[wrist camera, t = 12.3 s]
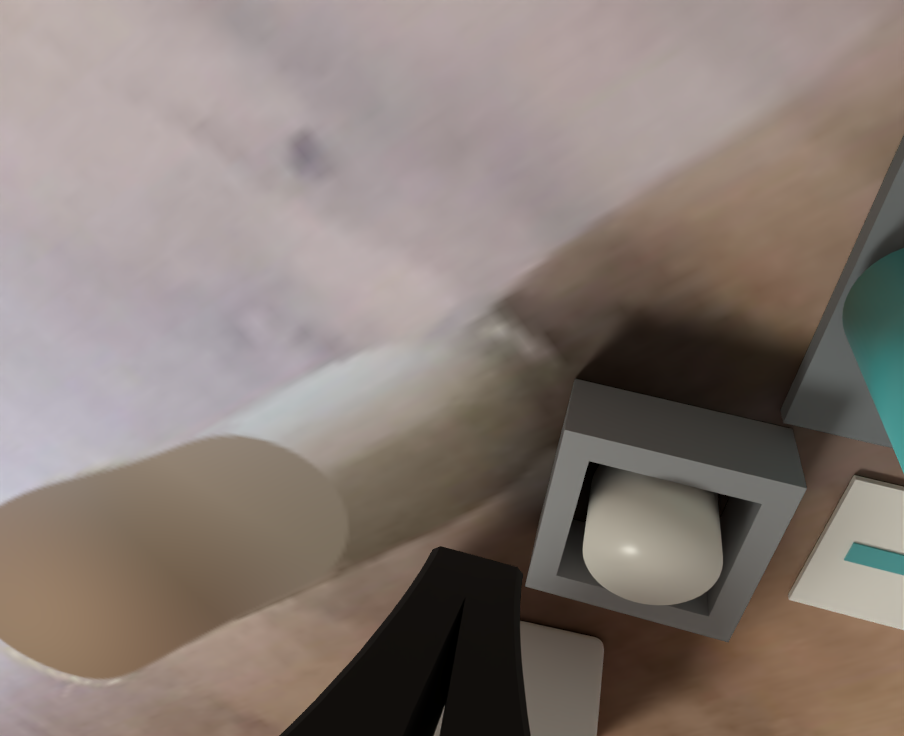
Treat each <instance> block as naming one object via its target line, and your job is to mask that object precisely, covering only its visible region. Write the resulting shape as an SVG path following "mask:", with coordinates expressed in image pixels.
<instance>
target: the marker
mask: <svg viewBox="0 0 904 736" xmlns="http://www.w3.org/2000/svg"><path fill="white" fill-rule="evenodd" d="M842 321H843V328H844V332H845V335H846V337H847V340H848V342H849V345H850V347H851V349H852V352H853V354H854V356H855V359H856V361H857V363H858V366H859V368H860V371H861V373H862V375H863V378H864V380H865V382H866V385H867V387H868V390H869V392H870V394H871V397H872V399H873V401H874V404H875V406H876V409H877V411H878V413H879V416H880V418H881V420H882V423H883V425H884V427H885V430H886V432H887V435H888V437H889V439H890V442H891V444H892V446H893V449H894V451H895V454H896V456H897V458H898V461H899V463H900V465H901V468H902V470H903V472H904V248H902V249H899V250H897V251H895V252H892V253H890V254H888V255H886V256H885V257H883V258H881V259H880V260H878V261H877V262H875V263H874V264H872V265H871V266H870V267H869V268H868V269H867V270H865V271H864V272H863V273H862V275H861V276H860V277H859V278H858V279H857V280H856V282H855V283H854V284H853V286H852V287H851V289H850V291H849V293H848V295H847V297H846V300H845V303H844V307H843V315H842Z"/></svg>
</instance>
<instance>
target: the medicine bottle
mask: <svg viewBox="0 0 904 736" xmlns="http://www.w3.org/2000/svg"><path fill="white" fill-rule="evenodd" d="M520 637H521V656H522V669H523V678H524V687H525V696H526V705H527V713H528V720H529V727H530V734H531V736H597V727H598V715H599V704H600V692H601V681H602V669H603V658H604V647H603V642H602V641H601V640H600V639H598V638H596V637H593V636H588V635H584V634H579V633H575V632H570V631H565V630H561V629H556V628H552V627H547V626H543V625H538V624H534V623H529V622H524V621H520ZM444 708H445V706H444ZM443 713H444V709H443V712H442V714H441V717H440V720H439V723H438V725H437V728H436V731H435V733H434V736H439V735H440V730H441V724H442V719H443Z"/></svg>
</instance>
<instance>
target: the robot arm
mask: <svg viewBox="0 0 904 736" xmlns="http://www.w3.org/2000/svg"><path fill="white" fill-rule="evenodd" d="M522 579H523V574H522V572H521V571H520V570H519V568H518V567H515V566H511V565H508V564H504V563H500V562H497V561H493V560H489V559H485V558H482V557H478V556H474V555H471V554H467V553H463V552H460V551H456V550H452V549H449V548H445V547H441V546H440V547H438V548H435V549H433V550H432V552H431V553H430V555H429V557H428V559H427V561H426V563H425V564H424V566H423V567H422V569H421V571H420V572H419V574H418V575H417V577H416V578H415V580H414V581H413V583H412V584H411V586H410V587H409V589H408V590H407V592H406V593H405V594H404V596H403V597H402V598H401V600H400V601H399V602H398V604H397V605H396V607H395V608H394V609H393V611H392V612H391V613H390V615H389V616H388V617H387V618H386V620H385V621H384V622H383V623H382V624H381V626H380V627H379V628H378V629H377V631H376V632H375V633H374V634H373V636H372V637H371V638H370V639H369V640H368V642H367V643H366V644H365V645H364V647H363V648H362V649H361V650H360V651H359V653H358V654H357V655H356V656H355V657H354V658H353V660H352V661H351V662H350V663H349V664H348V665H347V666H346V667H345V668H344V669H343V670H342V672H341V673H340V674H339V675H338V676H337V677H336V678H335V679H334V680H333V681H332V682H331V684H330V685H329V686H328V687H327V688H326V689H325V690H324V691H323V692H322V693H321V694H320V696H319V697H318V698H317V699H316V700H315V701H314V702H313V703H312V704H311V705H310V706H309V707H308V708H307V709H306V710H305V711H304V712H303V713H302V714H301V715H300V716H299V717H298V718H297V719H296V720H295V721H294V722H293V723H292V724H291V725H290V726H289V727H288V728H287V729H286V730H285V731H284V732H283V733H282V734H281V735H279V736H434V733H435V731H436V728H437V725H438V723H439V720H440V717H441V714H442V712H443V709H444V713H443V719H442V724H441V730H440V735H439V736H531V734H530V727H529V720H528V713H527V705H526V696H525V687H524V678H523V669H522V656H521V637H520V598H521V585H522ZM444 706H445V708H444Z"/></svg>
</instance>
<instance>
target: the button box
mask: <svg viewBox="0 0 904 736" xmlns="http://www.w3.org/2000/svg"><path fill="white" fill-rule="evenodd" d="M589 461H590V462H594V463H598V464H602V465H606V466H610V467H614V468H618V469H623V470H627V471H631V472H635V473H639V474H643V475H647V476H651V477H655V478H659V479H663V480H667V481H671V482H675V483H679V484H683V485H687V486H691V487H695V488H699V489H703V490H707V491H711V492H716V493H720V494H724V495H728V496H730V498H729V500H728V502H727V505H726V507H725V509H724V511H723V514H722V516H721V518H720V529H721V540H722V552H723V566H722V571H721V574H720V576H719V578H718V580H717V581H716V583H715V584H714V585H713V586H712V587H711V588H710V589H709V590H708V591H707V592H705V593H704V594H702V595H701V596H699V597H697V598H695V599H692V600H689V601H687V602H683V603H679V604H672V605H648V604H641V603H637V602H633V601H630V600H627V599H624V598H622V597H620V596H617V595H616V594H614V593H612V592H610V591H609V590H607V589H606V588H604V587H603V586H602V585H601V584H600V583H598V582H597V581H596V579H595V578H594V577H593V576H592V575H591V573H590V572H589V570H588V568H587V566H586V564H585V561H584V558H583V541H584V533H585V526H586V523H585V522H581V521H577V520H574V519H573V515H574V512H575V508H576V505H577V501H578V498H579V494H580V491H581V487H582V484H583V480H584V477H585V473H586V470H587V466H588V463H589ZM806 489H807V487H806V482H805V478H804V474H803V470H802V466H801V462H800V457H799V453H798V449H797V445H796V441H795V437H794V433H793V429H790V428H786V427H781V426H777V425H773V424H768V423H764V422H760V421H756V420H751V419H747V418H743V417H738V416H734V415H730V414H725V413H721V412H717V411H712V410H708V409H704V408H699V407H695V406H691V405H687V404H682V403H678V402H674V401H669V400H665V399H661V398H656V397H652V396H648V395H643V394H639V393H635V392H630V391H626V390H622V389H618V388H613V387H609V386H605V385H600V384H596V383H592V382H587V381H583V380H579V379H575V380H574V384H573V388H572V392H571V396H570V400H569V404H568V408H567V412H566V416H565V420H564V424H563V428H562V432H561V436H560V440H559V444H558V448H557V452H556V456H555V460H554V464H553V468H552V472H551V476H550V480H549V484H548V488H547V492H546V496H545V500H544V504H543V508H542V512H541V516H540V520H539V524H538V528H537V532H536V537H535V542H534V546H533V551H532V556H531V561H530V565H529V570H528V575H527V580H526V584H525V587H529V588H533V589H536V590H540V591H544V592H547V593H551V594H555V595H558V596H562V597H565V598H569V599H573V600H576V601H580V602H584V603H587V604H591V605H595V606H598V607H602V608H605V609H609V610H613V611H616V612H620V613H624V614H627V615H631V616H635V617H638V618H642V619H645V620H649V621H653V622H656V623H660V624H664V625H667V626H671V627H675V628H678V629H682V630H685V631H689V632H693V633H696V634H700V635H704V636H707V637H711V638H715V639H718V640H722V641H725V642H729V640H730V638H731V636H732V634H733V632H734V630H735V628H736V626H737V624H738V622H739V620H740V618H741V617H742V615H743V613H744V611H745V609H746V607H747V605H748V603H749V601H750V599H751V597H752V595H753V593H754V591H755V589H756V587H757V585H758V583H759V581H760V579H761V577H762V575H763V573H764V572H765V570H766V568H767V566H768V564H769V562H770V560H771V558H772V556H773V554H774V552H775V550H776V548H777V546H778V544H779V542H780V540H781V538H782V536H783V534H784V532H785V530H786V528H787V527H788V525H789V523H790V521H791V519H792V517H793V515H794V513H795V511H796V509H797V507H798V505H799V503H800V501H801V499H802V497H803V495H804V493H805V491H806Z"/></svg>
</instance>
